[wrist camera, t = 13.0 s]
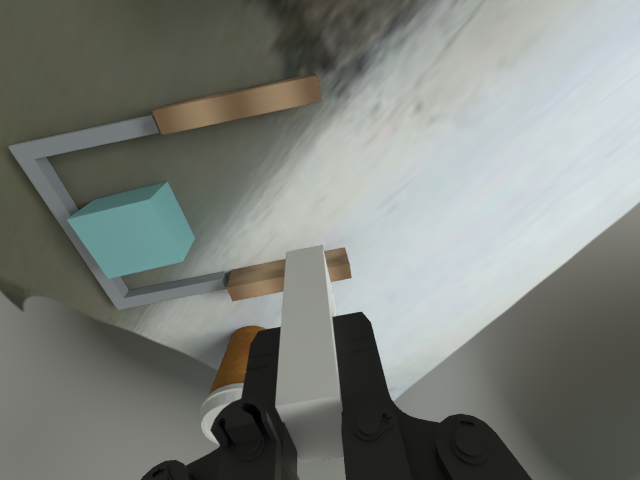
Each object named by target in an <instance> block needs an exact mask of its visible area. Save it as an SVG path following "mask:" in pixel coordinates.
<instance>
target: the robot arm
mask: <svg viewBox="0 0 640 480" xmlns="http://www.w3.org/2000/svg"><path fill="white" fill-rule="evenodd" d="M210 431H211V432H212V434H213V435H214V437H215V438H216V440H217V441H218V443H219V444H220V447H219V448H217V449H216V450H214V451H213V452H211V453H210V454H207V455H206V456H204V457H202V458H200V459H198V460H196V461H194V462H192V463H190V464H188V465H186V466H185V465H184V464H183V463H181V462H179V461H177V460H170V461H164V462H162V463H160V464H158V465H157V466H155V467H153V468H152V469H151V470H150V471H149V472H148V473H147V474H146V475H144V476H143V478H142V479H141V480H299V477H298V476H297V456H298V458H299V460H300V462H301V463H305V462H312V461H318V460H325V459H332V458H338V457H344V464H345V474H346V480H532V479H531V478H530V476H529V475H528V474H527V473H526V471H525V470H524V469H523V467H522V466H521V465H520V464H519V462H518V461H517V459H516V458H515V457H514V456H513V454H512V453H511V452H510V451H509V449H508V448H507V446H506V445H505V444H504V443H503V441H502V440H501V439H500V437H499V436H498V435H497V434H496V432H494V431H493V430H492V428H490V427H489V426H488V425H487V424H486V423H485V422H484V421H482V420H480V419H478V418H476V417H474V416H470V415H464V414H457V415H452V416H449V417H447V418H446V419H444V420H443V421H442V422H440V423H438V422H432V421H427V420H422V419H418V418H414V417H411V416H409V415H407V414H406V413H404V412H402V411H401V410H400V409H399V408H398V407H397V406H396V405H395V404H394V402H393V401H392V400H391V397H390V395H389V392H388V388H387V384H386V380H385V376H384V372H383V369H382V365H381V361H380V357H379V353H378V349H377V345H376V341H375V337H374V333H373V329H372V325H371V322H370V321H369V320H368V318H367V317H366V316H365V315H364V314H363V313H362V312H357V313H352V314H346V315H340V316H336V310H335V302H334V295H333V290H332V286H331V281H330V277H329V272H328V268H327V263H326V259H325V254H324V250H323V245H320V246H315V247H310V248H305V249H299V250H294V251H289V252H286V263H285V277H284V291H283V305H282V318H281V327H278V328H272V329H266V330H261V331H258V332H257V334H256V336H255V337H254V339H253V341H252V342H251V344H250V349H249V355H248V361H247V367H246V373H245V379H244V385H243V390H242V396H241V399H239V400H236V401H233V402H231V403H230V404H229V405H227V406H226V407H225V408H223V409H222V410H221V412H220V413H219V414H218V415H217V417H216V418H215V419H214V422H213V424H212V427H211V429H210Z"/></svg>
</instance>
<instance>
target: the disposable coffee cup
mask: <svg viewBox="0 0 640 480" xmlns="http://www.w3.org/2000/svg"><path fill="white" fill-rule="evenodd" d="M261 330H266V329H265V328H262V327H257V326H247V327H243V328H241V329H239V330H237V331H236V332H235V333H234V334H233V335H232V337H231V340H230V342H229V345H228V347H227V350H226V352H225V355H224V358H223V360H222V363H221V365H220V368H219V370H218V373H217V375H216V378H215V381H214V383H213V386H212V388H211V391H210V393H209V396H208V397H207V398H206V400H205V401H204V403H203V404H202V405H201V408H200V412H199V415H200V420H201V426H202V431H203V433H204V434H205V436H206V437H207V438H208V439H210V440H211V441H213V442H215V443H217V444H219V443H218V441H217V440H216V438H215V437H214V435H213V434H212V432H211V431H210V429H211V427H212V424H213V422H214V419H215V418H216V417H217V415H218V414H219V413H220V412H221V410H222V409H223V408H225V407H226V406H227V405H229V404H230V403H231V402H233V401H236V400H239V399H241V396H242V390H243V385H244V379H245V373H246V367H247V361H248V355H249V349H250V344H251V342H252V341H253V339H254V337H255V336H256V334H257V332H258V331H261ZM219 445H220V444H219Z"/></svg>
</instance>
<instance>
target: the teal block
mask: <svg viewBox="0 0 640 480" xmlns="http://www.w3.org/2000/svg"><path fill="white" fill-rule="evenodd" d="M67 221H68V222H69V224H70V225H71V226H72V228H73V229H74V231H75V232H76V234H77V235H78V236H79V238H80V239H81V241H82V242H83V244H84V245H85V246H86V248H87V249H88V251H89V252H90V254H91V255H92V256H93V258H94V259H95V261H96V262H97V264H98V265H99V266H100V268H101V269H102V271H103V272H104V274H105V275H106V276H107V278H108V279H111V278H115V277H119V276H124V275H128V274H132V273H136V272H141V271H145V270H149V269H153V268H158V267H162V266H166V265H171V264H175V263H179V262H183V260H184V258H185V257H186V255H187V253H188V251H189V249H190V247H191V245H192V243H193V242H194V240H195V237H194V235H193V233H192V231H191V229H190V227H189V225H188V223H187V221H186V218H185V216H184V214H183V212H182V210H181V208H180V206H179V204H178V202H177V200H176V198H175V196H174V194H173V192H172V190H171V188H170V186H169V184H168V182H163V183H159V184H155V185H151V186H147V187H143V188H139V189H135V190H130V191H126V192H122V193H118V194H114V195H110V196H106V197H102V198H98V199H94V200H93V201H92V202H90V203H89V204H87V205H86V206H85V207H83V208H82V209H81V210H79V211H78V212H76V213H75V214H74V215H72V216H71V217H69V218H68V219H67Z"/></svg>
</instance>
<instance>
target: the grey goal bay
mask: <svg viewBox="0 0 640 480" xmlns="http://www.w3.org/2000/svg"><path fill="white" fill-rule="evenodd" d="M160 132H161V131H160V129H159V127H158V124H157V122H156V120H155V117H154V115H153V114H151V115H147V116H142V117H137V118H133V119H128V120H123V121H119V122H114V123H109V124H105V125H100V126H95V127H91V128H86V129H81V130H77V131H72V132H67V133H63V134H58V135H53V136H49V137H44V138H39V139H35V140H30V141H25V142H21V143H17V144H14V145H11V146H8V148H9V149H10V151H11V152H12V154H13V155H14V157H15V158H16V160H17V161H18V163H19V164H20V166H21V167H22V169H23V170H24V172H25V173H26V175H27V176H28V178H29V179H30V181H31V182H32V183H33V185H34V186H35V188H36V189H37V191H38V192H39V194H40V195H41V197H42V198H43V200H44V201H45V203H46V204H47V206H48V207H49V209H50V210H51V212H52V213H53V215H54V216H55V218H56V219H57V221H58V222H59V224H60V225H61V227H62V228H63V230H64V231H65V233H66V234H67V235H68V237H69V238H70V240H71V241H72V243H73V244H74V246H75V247H76V249H77V250H78V252H79V253H80V255H81V256H82V258H83V259H84V261H85V262H86V264H87V265H88V267H89V268H90V270H91V271H92V273H93V274H94V276H95V277H96V279H97V280H98V282H99V283H100V285H101V286H102V288H103V289H104V290H105V292H106V293H107V295H108V296H109V298H110V299H111V301H112V302H113V304H114V305H115V307H116V308H117V310H120V309H125V308H130V307H136V306H141V305H146V304H151V303H156V302H161V301H166V300H171V299H176V298H181V297H186V296H191V295H196V294H202V293H207V292H212V291H217V290H222V289H226V286H227V283H228V280H227V278H226V275H225V273H224V272H219V273H214V274H209V275H204V276H199V277H194V278H189V279H184V280H179V281H174V282H169V283H164V284H159V285H154V286H149V287H143V288H138V289H133V290H129V289H128V288H127V286H126V285H125V283H124V281H123V280H122V278H121V277H120V276H119V277H115V278H111V279H108V278H107V276H106V275H105V274H104V272H103V271H102V269H101V268H100V266H99V265H98V264H97V262H96V261H95V259H94V258H93V256H92V255H91V254H90V252H89V251H88V249H87V248H86V246H85V245H84V244H83V242H82V241H81V239H80V238H79V236H78V235H77V234H76V232H75V231H74V229H73V228H72V226H71V225H70V224H69V222H68V221H67V219H68V218H69V217H71V216H72V215H74V214H75V213H76V212H78V211H79V209H78V208H77V206H76V204H75V203H74V201H73V200H72V198H71V196H70V195H69V193H68V192H67V190H66V188H65V187H64V185H63V184H62V182H61V180H60V179H59V177H58V176H57V174H56V172H55V171H54V169H53V167H52V166H51V164H50V163H49V161H48V159H47V158H46V157H47V156H52V155H57V154H61V153H66V152H71V151H75V150H80V149H85V148H90V147H94V146H99V145H104V144H108V143H113V142H118V141H123V140H127V139H132V138H137V137H141V136H146V135H151V134H156V133H160Z"/></svg>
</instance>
